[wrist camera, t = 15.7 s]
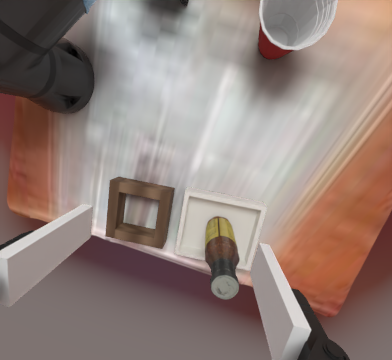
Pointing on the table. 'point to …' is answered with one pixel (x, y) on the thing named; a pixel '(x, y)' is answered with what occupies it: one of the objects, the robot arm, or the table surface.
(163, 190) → the walnut holder
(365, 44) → the table surface
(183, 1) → the figurine
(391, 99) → the table surface
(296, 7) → the plastic cup
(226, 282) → the sauce bottle
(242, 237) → the plastic tray
